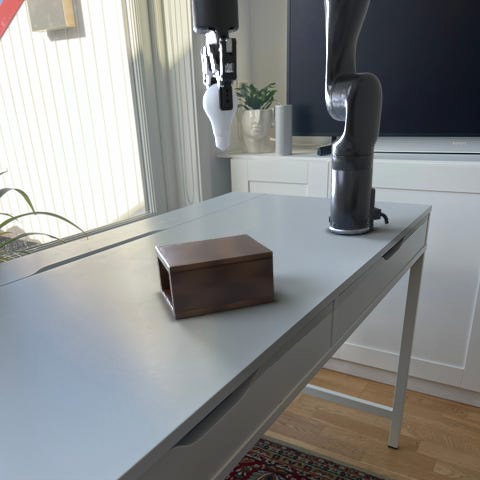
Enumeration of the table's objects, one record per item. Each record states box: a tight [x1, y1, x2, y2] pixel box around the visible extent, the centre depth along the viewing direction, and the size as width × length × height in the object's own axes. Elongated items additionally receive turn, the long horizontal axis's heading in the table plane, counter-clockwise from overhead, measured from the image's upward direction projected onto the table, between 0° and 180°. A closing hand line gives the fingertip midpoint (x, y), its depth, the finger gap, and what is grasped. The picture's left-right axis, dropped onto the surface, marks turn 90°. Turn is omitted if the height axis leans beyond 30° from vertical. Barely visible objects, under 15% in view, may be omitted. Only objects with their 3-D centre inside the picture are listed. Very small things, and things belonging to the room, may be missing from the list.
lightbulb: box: [202, 83, 239, 151], centre depth 85 cm, size 6×6×11 cm
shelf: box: [155, 233, 275, 320], centre depth 77 cm, size 16×12×8 cm
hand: (221, 110), depth 84 cm, fingers closed on lightbulb, 6 cm apart
